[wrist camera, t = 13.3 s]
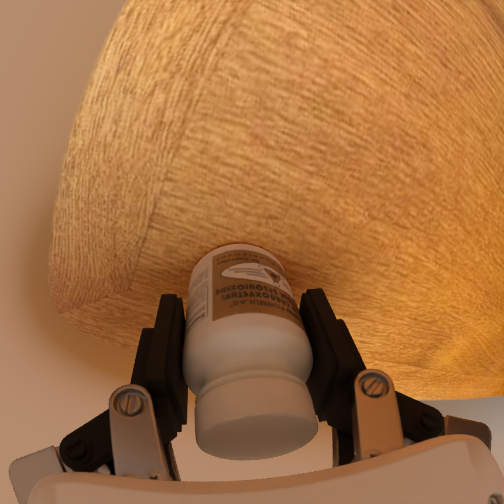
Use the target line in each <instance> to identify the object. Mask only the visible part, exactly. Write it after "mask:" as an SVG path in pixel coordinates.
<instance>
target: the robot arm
mask: <svg viewBox="0 0 504 504" xmlns="http://www.w3.org/2000/svg"><path fill="white" fill-rule="evenodd" d="M299 312H300V315H301V318H302V321H303V324H304V327H305V330H306V333H307V336H308V339H309V341H310V345H311V349H312V353H313V367H312V371H311V374H310V376H309V378H308V380H307V381H306V383H305V384H306V386H307V387H308V390H309V394H310V396H311V398H312V403H313V407H314V411H315V414H316V415H317V416H318V419H319V422H322V421H327V423H328V425H329V426H331V427H332V437H333V438H332V439H333V468H329V469H325V470H319V471H314V472H309V473H303V474H297V475H290V476H284V477H275V478H266V479H256V480H244V481H243V480H242V481H221V482H187V481H186V482H185V481H181V479H180V475H179V472H178V468H177V464H176V460H175V456H174V452H173V448H172V444H171V441H172V440H173V439H174V438H175V437H177V432H181V431H182V425H186V424H187V402H188V401H187V399H188V386H187V384H186V382H185V380H184V376H183V372H182V354H183V344H184V333H185V315H184V309H183V302H182V298H177V295H176V294H162V295H161V298H160V303H159V308H158V312H157V317H156V322H155V327H154V328H143V329H142V332H141V336H140V341H139V345H138V349H137V354H136V359H135V364H134V368H133V373H132V378H131V383H130V384H128V385H125V386H121V387H119V388H118V389H116V390H115V391H114V392H113V393H112V395H111V397H110V399H109V409H108V410H106V411H104V412H103V413H101V414H100V415H98V416H97V417H95V418H94V419H92V420H91V421H89V422H88V423H86V424H84V425H83V426H81V427H80V428H78V429H76V430H75V431H73V432H72V433H70V434H69V435H67V436H66V437H65V438H63V440H62V442H61V443H60V446H58V447H54V446H50V447H48V448H46V449H43V450H40V451H38V452H35V453H32V454H30V455H27V456H24V457H21V458H19V459H16V460H15V461H13V462H12V463H11V465H10V468H9V477H10V480H11V483H12V486H13V489H14V492H15V495H16V497H17V500H18V502H19V504H504V477H503V475H502V473H501V471H500V469H499V467H498V464H497V462H496V460H495V459H494V457H493V455H492V454H491V431H490V429H489V428H488V426H487V425H485V424H483V423H481V422H476V421H471V420H467V419H462V418H457V417H453V416H449V415H447V416H446V417H443V416H442V414H441V413H440V412H439V411H438V410H437V409H435V408H433V407H431V406H429V405H427V404H424V403H422V402H420V401H417V400H415V399H413V398H411V397H408V396H406V395H404V394H402V393H399V392H397V391H395V389H394V384H393V382H392V379H391V378H390V377H389V376H388V375H387V374H386V373H384V372H383V371H380V370H377V369H366V367H365V364H364V362H363V360H362V358H361V356H360V354H359V351H358V349H357V347H356V345H355V343H354V341H353V339H352V337H351V335H350V333H349V330H348V328H347V326H346V324H345V322H344V321H343V320H342V319H336V317H335V315H334V312H333V310H332V308H331V306H330V304H329V302H328V300H327V298H326V296H325V294H324V291H323V290H322V289H321V288H318V289H307V291H306V293H302V296H301V302H300V308H299Z"/></svg>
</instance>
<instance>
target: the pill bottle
mask: <svg viewBox="0 0 504 504" xmlns="http://www.w3.org/2000/svg"><path fill="white" fill-rule="evenodd" d="M312 367H313V353H312V349H311V345H310V341H309V339H308V336H307V333H306V330H305V327H304V324H303V321H302V318H301V315H300V312H299V309H298V307H297V304H296V301H295V298H294V295H293V292H292V290H291V288H290V284H289V282H288V279H287V276H286V273H285V271H284V268H283V266H282V265H281V263H280V262H279V261H278V259H277V258H276V257H275V256H273V255H272V254H271V253H269V252H268V251H266V250H264V249H262V248H260V247H257V246H253V245H248V244H231V245H226V246H222V247H219V248H217V249H215V250H212V251H211V252H209V253H207V254H206V255H205V256H204V257H203V258H202V259H201V260H200V261H199V262H198V263H197V265H196V266H195V268H194V270H193V272H192V274H191V278H190V284H189V291H188V300H187V310H186V321H185V333H184V344H183V354H182V372H183V376H184V380H185V382H186V384H187V386H188V387H189V389H190V390H191V391H192V392H193V393H194V394H195V395H196V400H195V404H196V407H195V434H196V442H197V444H198V446H199V447H200V449H201V450H202V451H204V452H206V453H208V454H210V455H213V456H216V457H219V458H224V459H230V460H259V459H267V458H272V457H277V456H281V455H283V454H287V453H290V452H292V451H294V450H297V449H299V448H301V447H302V446H304V445H306V444H307V443H308V442H310V441H311V440H312V439H313V438H314V436H315V435H316V434H317V431H318V423H317V418H316V414H315V411H314V407H313V403H312V398H311V396H310V394H309V390H308V387H307V386H306V384H305V383H306V381H307V380H308V378H309V376H310V374H311V371H312Z"/></svg>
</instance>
